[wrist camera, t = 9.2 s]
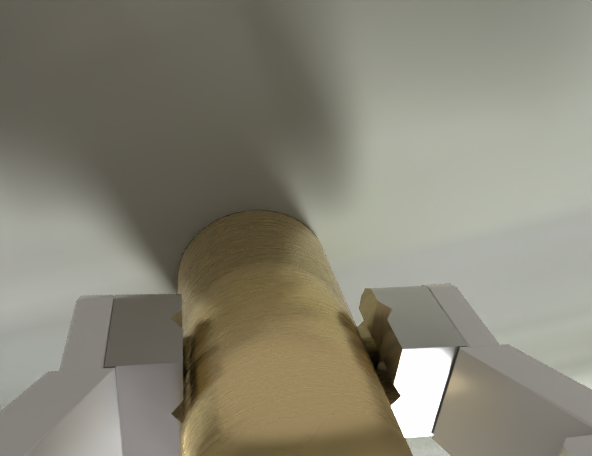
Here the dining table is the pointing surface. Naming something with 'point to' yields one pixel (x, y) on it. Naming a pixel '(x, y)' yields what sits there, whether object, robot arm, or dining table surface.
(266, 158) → the dining table surface
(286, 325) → the brass knob joystick
